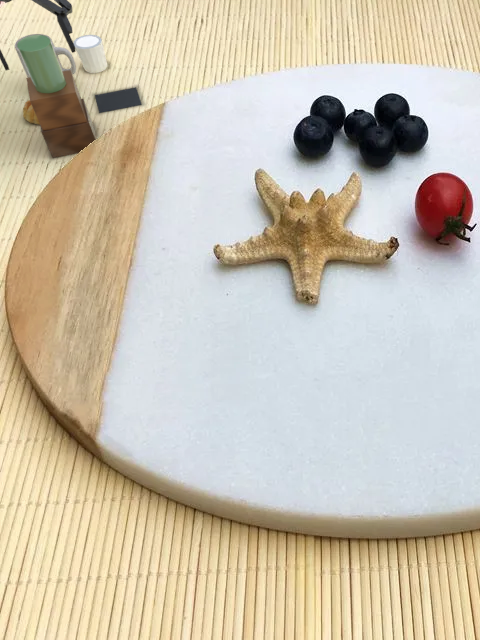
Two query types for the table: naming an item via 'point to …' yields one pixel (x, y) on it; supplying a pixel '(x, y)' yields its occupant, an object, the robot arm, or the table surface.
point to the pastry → (30, 113)
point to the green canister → (42, 63)
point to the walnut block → (63, 118)
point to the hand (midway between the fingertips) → (40, 58)
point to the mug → (58, 52)
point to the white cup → (91, 53)
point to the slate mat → (118, 100)
